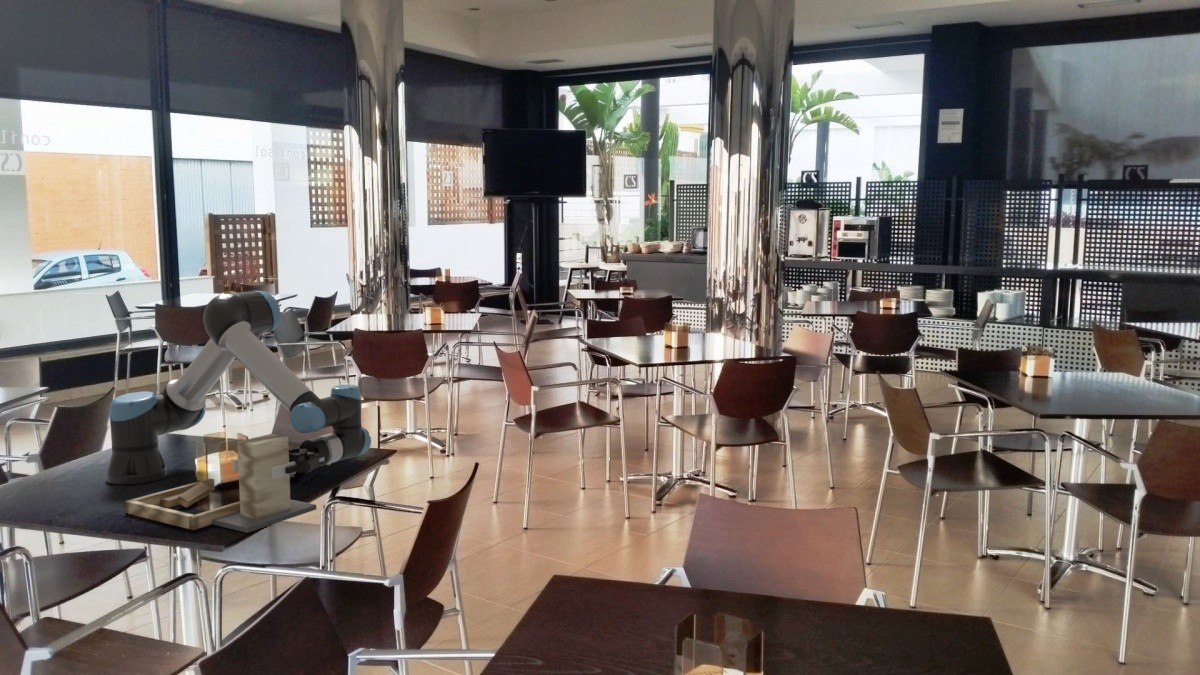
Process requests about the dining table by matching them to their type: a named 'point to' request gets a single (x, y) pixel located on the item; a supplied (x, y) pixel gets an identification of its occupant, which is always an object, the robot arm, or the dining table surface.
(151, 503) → the wooden frame
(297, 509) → the slate board
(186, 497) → the offcut upper
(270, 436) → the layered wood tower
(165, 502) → the offcut lower
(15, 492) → the dining table surface
